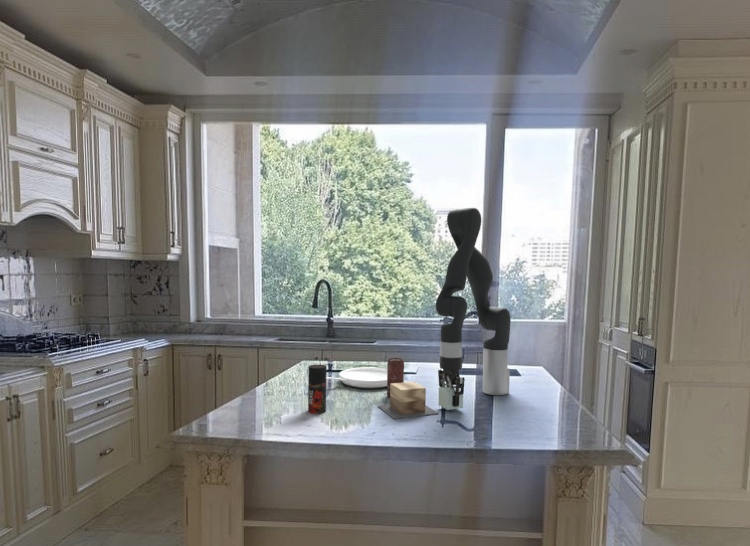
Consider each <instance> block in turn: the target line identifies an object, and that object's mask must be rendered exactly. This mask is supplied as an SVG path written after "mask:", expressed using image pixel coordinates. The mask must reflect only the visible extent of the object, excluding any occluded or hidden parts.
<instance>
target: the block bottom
mask: <svg viewBox="0 0 750 546" xmlns="http://www.w3.org/2000/svg"><path fill="white" fill-rule="evenodd" d="M426 401H427V399H426V400H420V401H410V402H399V401H398V400H397V399H395V398H394V397H392V396H391V395H390V398H389V405H390V407H391V408H392V409H394V410H395V411H396V412H398V413H399V414H400V415H401V414H411V413H420V412H425V405H426Z"/></svg>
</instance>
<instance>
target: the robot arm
mask: <svg viewBox="0 0 750 546" xmlns="http://www.w3.org/2000/svg"><path fill="white" fill-rule="evenodd" d="M446 222H447V228H448V230H449V233H450V235H451V238H452V240H453V242H454V244H455V247H456V249H457V250H456V251H455V253H453V255H452V256H451V258H450V260H449V262H448V264H447V267H446V273H445V274H446V275H445V280H444V283H443V286H442V288H441V290H440V293H439V294H438V297H437V299H436V301H435V310H436V313H437V314H438V315H439V316H441V317H451V318H453V319H452V322H448V323H444V324H442V325H441V326H440V344H439V368H440V369H438V370H437V375H438V386H439V387H450V389H451V390H452V394H453V395H452V406H454V407H458V406H459V396H460V395H463V396H464V392H465V391H464V390H465V381H466V379H465V377H464V376H463V377H461V376H460V370H462V369H463V343H462V341H463V339H462V337H463V336H462V335H463V334H462V333H463V332H462V330H463V325H464V322H465V317H466V314H467V312H468V303H467V300H466V299H465V298H464V297H463V296H458V295H457V296H456V295H455V296H454V293H457V292H460V291H461V292H462V291H464V289H465V287H466V283H467V281H468V284H469V286H470V287H469V288H471V293H472V296H473V300H474V303H475V307H476V308H475V309H476V312H477V317H478V320H479V321H478V322H479V323H480V324H479V325H480V326H481V327H482V329H484V330H487V331H492V332H493V331H494V336H493V337H491V338H487V339H485V340H484V341H483V349H482V350H483V352H482V353H483V354H482V355H483V356H482V357H483V359H482V361H483V362H482V392H483V394H487V395H490V396H491V395H492V396H505V395H507V394H510V378H511V377H510V376H511V375H510V372H511V371H510V370H511V369H510V368H509V367H508V362H509V361H508V357H509V356H508V353H509V351H508V350H509V349H508V348H509V344H510V343H509V342H510V334H511V313H510V311H509V309H507V308H505V307H499V306H491V304H490V300H489V292H490V289H491V287H492V285H493V280H494V278H493V277H494V276H493V272H492V268H491V265H490V263H489V260H488V259H487V257H486V256H485V255H484V254H483V253H482V252H481V251H480V249H477V248H476V247H475V246H476V243H477V240H478V237H479V234H480V230H481V226H482V215H481V212H480V210H479V209H478V208H476V207H465V208H464V207H463V208H457V209H456V208H455V209H451V210H449V212H448V213H447V216H446ZM439 387H438V388H439ZM454 389H455V390H454ZM460 389H461V390H460Z"/></svg>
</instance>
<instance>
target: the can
mask: <svg viewBox="0 0 750 546" xmlns="http://www.w3.org/2000/svg"><path fill="white" fill-rule="evenodd" d="M386 365H387V368H386V369H387V387H386V395H387V398H389V399H390V384H391V383H404V382H405V380H404V377H405V375H404V374H405V361H404V359H403V358H398V357H392V358H388V360H387V363H386Z"/></svg>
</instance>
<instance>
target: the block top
mask: <svg viewBox="0 0 750 546" xmlns="http://www.w3.org/2000/svg"><path fill="white" fill-rule="evenodd" d="M426 390H427V389H426V387H424V386H423V385H421V384H419V383H417V382H416V381H404V383H391V384H390V395H391V396H392V397H394V398H395V399H397V400H398V401H399V402H410V401H420V400H426V401H427V399H426V397H427V395H426V392H427V391H426Z"/></svg>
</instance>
